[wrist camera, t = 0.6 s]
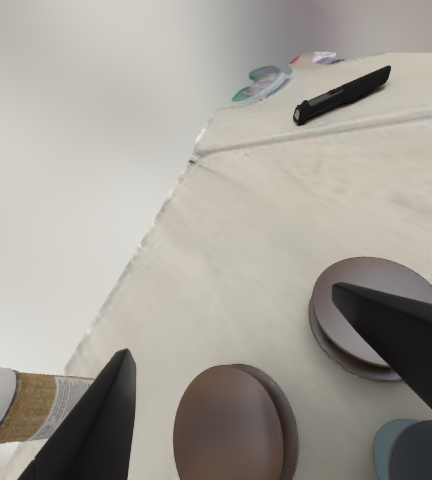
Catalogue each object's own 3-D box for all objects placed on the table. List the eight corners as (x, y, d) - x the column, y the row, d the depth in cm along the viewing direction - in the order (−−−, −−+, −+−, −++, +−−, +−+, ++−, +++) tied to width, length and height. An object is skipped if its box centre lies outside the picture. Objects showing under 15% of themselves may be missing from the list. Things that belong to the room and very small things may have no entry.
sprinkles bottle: (104, 379, 26) (-35, 364, 16) (134, 381, 24) (-2, 366, 14) (88, 429, 23) (-92, 449, 13) (120, 436, 21) (-58, 464, 11)
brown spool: (326, 456, 15) (325, 471, 12) (228, 544, 15) (199, 585, 11) (251, 345, 21) (237, 334, 18) (180, 404, 21) (152, 404, 17)
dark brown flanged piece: (465, 331, 16) (501, 312, 13) (377, 410, 15) (391, 412, 12) (354, 258, 22) (359, 233, 19) (289, 313, 22) (282, 297, 18)
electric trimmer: (392, 89, 35) (397, 67, 33) (298, 127, 39) (296, 110, 37) (380, 82, 38) (384, 61, 36) (292, 119, 42) (290, 102, 40)
